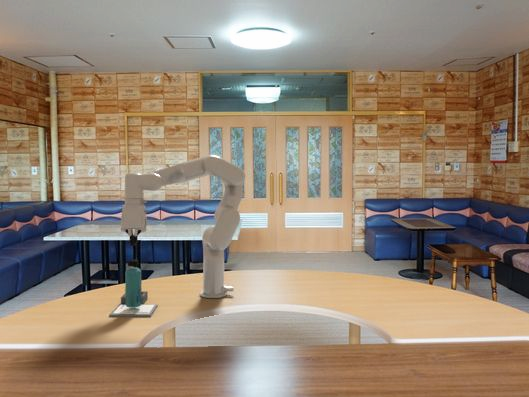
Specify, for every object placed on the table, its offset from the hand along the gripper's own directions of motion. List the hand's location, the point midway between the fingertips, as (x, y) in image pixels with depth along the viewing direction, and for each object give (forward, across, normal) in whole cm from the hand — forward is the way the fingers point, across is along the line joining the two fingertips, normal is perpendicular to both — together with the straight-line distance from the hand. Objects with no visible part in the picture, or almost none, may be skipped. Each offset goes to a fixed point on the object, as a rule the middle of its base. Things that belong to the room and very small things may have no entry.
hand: (133, 244), depth 185 cm
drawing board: (+25, -4, +12) cm, 28 cm away
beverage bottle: (+24, -3, +12) cm, 27 cm away
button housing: (+25, -1, 0) cm, 25 cm away
